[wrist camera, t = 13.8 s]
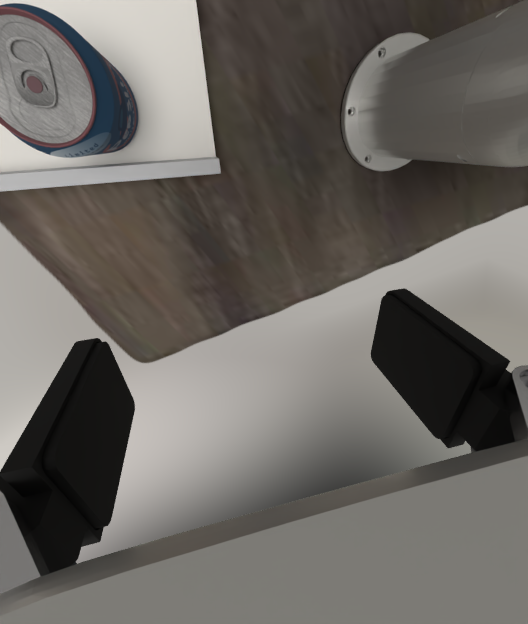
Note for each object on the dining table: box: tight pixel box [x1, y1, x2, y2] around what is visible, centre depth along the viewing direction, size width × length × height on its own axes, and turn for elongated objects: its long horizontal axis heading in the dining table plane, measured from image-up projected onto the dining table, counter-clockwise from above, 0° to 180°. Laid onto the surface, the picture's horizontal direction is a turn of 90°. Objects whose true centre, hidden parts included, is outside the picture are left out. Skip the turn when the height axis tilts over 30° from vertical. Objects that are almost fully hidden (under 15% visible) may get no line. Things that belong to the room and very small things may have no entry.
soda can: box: [0, 3, 138, 158], centre depth 19 cm, size 7×7×12 cm
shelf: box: [0, 0, 221, 191], centre depth 23 cm, size 20×15×7 cm
